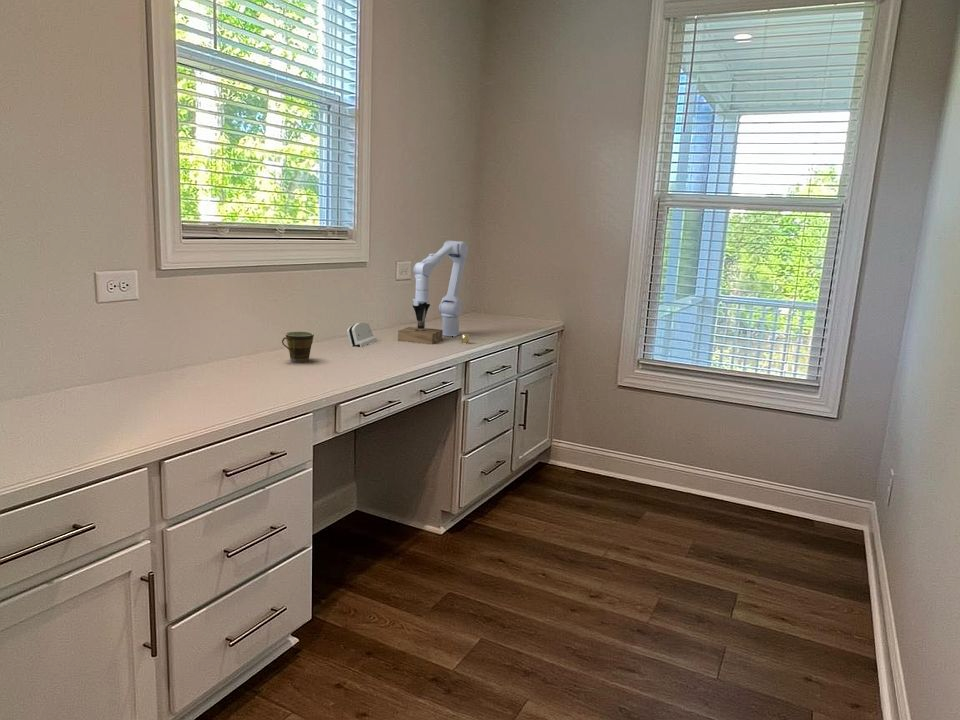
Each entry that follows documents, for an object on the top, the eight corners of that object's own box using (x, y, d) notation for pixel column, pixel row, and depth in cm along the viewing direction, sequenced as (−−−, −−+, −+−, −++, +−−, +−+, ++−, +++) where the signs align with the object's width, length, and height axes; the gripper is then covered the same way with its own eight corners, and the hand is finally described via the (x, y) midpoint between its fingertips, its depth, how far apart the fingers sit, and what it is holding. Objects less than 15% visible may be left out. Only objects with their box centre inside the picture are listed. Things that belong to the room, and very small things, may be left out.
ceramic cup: (301, 356, 262) (301, 330, 260) (319, 360, 257) (319, 334, 255) (273, 361, 252) (273, 334, 250) (291, 365, 246) (291, 338, 244)
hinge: (361, 347, 286) (353, 324, 285) (351, 350, 288) (344, 327, 287) (377, 341, 302) (371, 319, 301) (368, 343, 303) (361, 321, 302)
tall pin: (418, 327, 310) (419, 307, 308) (425, 327, 309) (426, 308, 308) (416, 328, 307) (417, 308, 305) (423, 328, 306) (424, 308, 305)
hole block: (409, 336, 318) (409, 326, 317) (442, 339, 314) (442, 329, 313) (397, 340, 305) (398, 330, 304) (431, 344, 301) (432, 334, 300)
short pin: (462, 342, 309) (463, 333, 308) (469, 343, 308) (469, 334, 307) (460, 343, 306) (460, 334, 305) (467, 344, 305) (467, 335, 304)
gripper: (419, 287, 313) (418, 317, 316) (407, 290, 299) (406, 321, 302) (434, 289, 311) (432, 318, 314) (422, 291, 297) (421, 322, 300)
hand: (420, 320), depth 308 cm, fingers closed on tall pin, 3 cm apart
